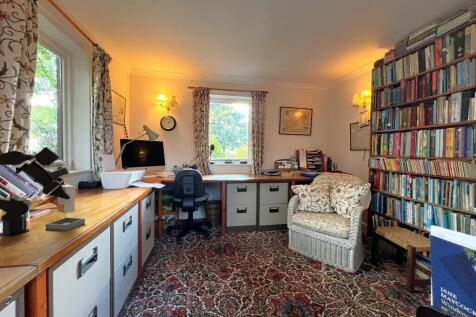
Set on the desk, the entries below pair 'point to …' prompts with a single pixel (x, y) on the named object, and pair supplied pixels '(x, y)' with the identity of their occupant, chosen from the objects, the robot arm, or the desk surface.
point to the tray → (65, 224)
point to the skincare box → (66, 204)
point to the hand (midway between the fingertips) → (70, 197)
